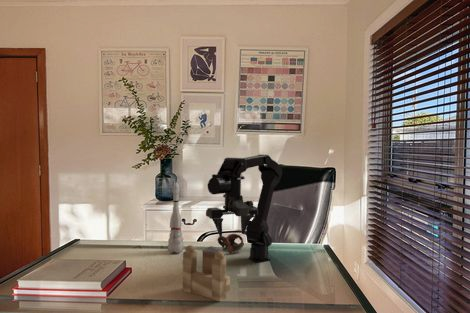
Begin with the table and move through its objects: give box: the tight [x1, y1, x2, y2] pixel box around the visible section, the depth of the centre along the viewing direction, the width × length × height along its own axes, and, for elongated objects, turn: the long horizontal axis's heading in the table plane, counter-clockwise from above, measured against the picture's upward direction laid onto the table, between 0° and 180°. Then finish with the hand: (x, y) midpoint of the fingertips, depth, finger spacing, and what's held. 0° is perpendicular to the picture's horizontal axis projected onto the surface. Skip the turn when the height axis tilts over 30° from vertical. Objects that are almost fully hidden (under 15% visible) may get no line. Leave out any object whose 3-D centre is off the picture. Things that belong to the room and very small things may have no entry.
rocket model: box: [167, 181, 185, 254], centre depth 139 cm, size 7×7×30 cm
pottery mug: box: [216, 233, 245, 255], centre depth 142 cm, size 12×10×8 cm
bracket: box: [201, 245, 224, 275], centre depth 102 cm, size 5×5×13 cm
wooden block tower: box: [182, 245, 231, 302], centre depth 101 cm, size 8×14×14 cm, turn 59°
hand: (232, 235), depth 118 cm, fingers open, 9 cm apart
